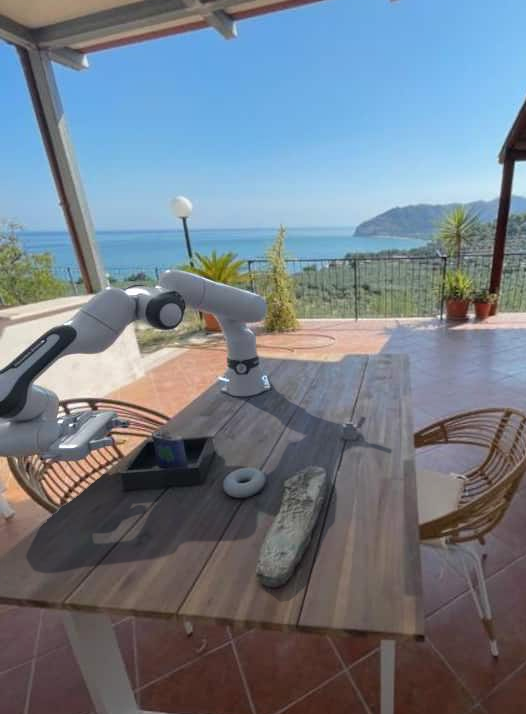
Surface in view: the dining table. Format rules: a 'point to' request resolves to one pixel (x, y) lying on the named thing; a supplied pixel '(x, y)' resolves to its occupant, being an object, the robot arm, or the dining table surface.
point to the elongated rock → (292, 526)
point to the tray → (150, 475)
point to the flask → (169, 450)
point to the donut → (247, 489)
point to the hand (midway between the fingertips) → (121, 432)
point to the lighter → (352, 428)
